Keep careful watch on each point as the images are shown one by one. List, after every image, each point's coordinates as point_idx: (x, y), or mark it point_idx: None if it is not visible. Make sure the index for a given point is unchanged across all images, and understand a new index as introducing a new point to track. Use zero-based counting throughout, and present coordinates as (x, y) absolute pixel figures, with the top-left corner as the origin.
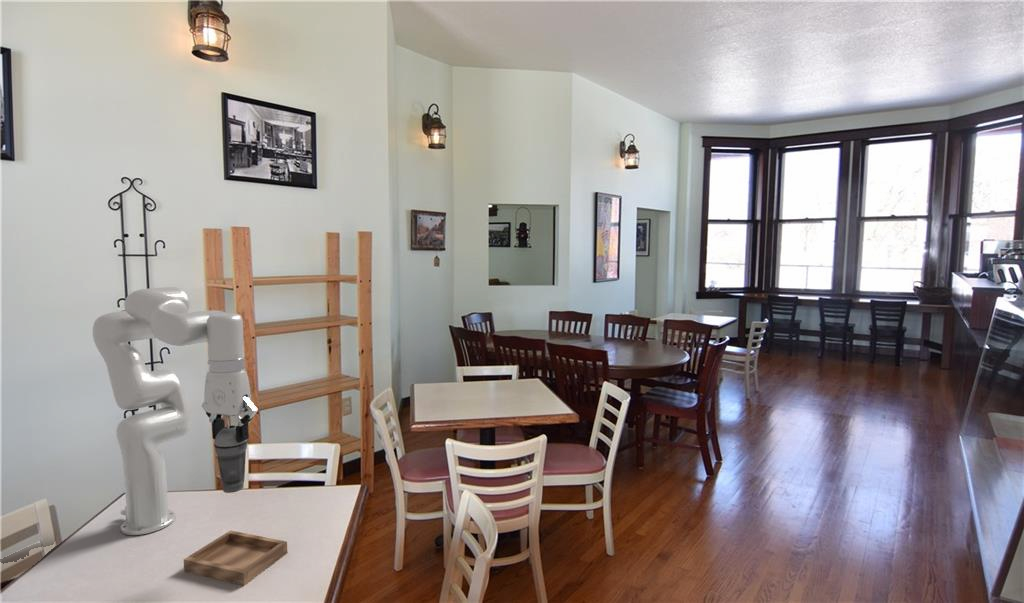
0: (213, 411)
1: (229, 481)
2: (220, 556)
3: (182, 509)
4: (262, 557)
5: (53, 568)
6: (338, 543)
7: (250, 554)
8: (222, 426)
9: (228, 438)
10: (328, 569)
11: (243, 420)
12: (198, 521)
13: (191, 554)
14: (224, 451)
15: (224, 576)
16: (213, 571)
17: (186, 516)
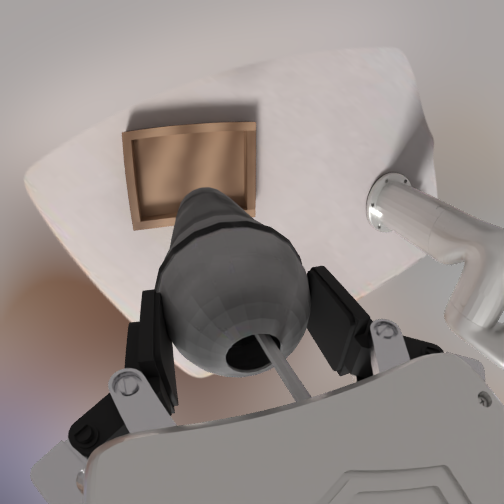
0: (391, 387)
1: (190, 198)
2: (221, 165)
3: (376, 244)
4: (130, 178)
5: (406, 94)
6: (91, 273)
7: (177, 188)
8: (324, 341)
9: (193, 279)
10: (52, 219)
11: (111, 413)
12: (338, 231)
13: (255, 137)
14: (198, 226)
15: (165, 126)
16: (188, 124)
17: (361, 234)
